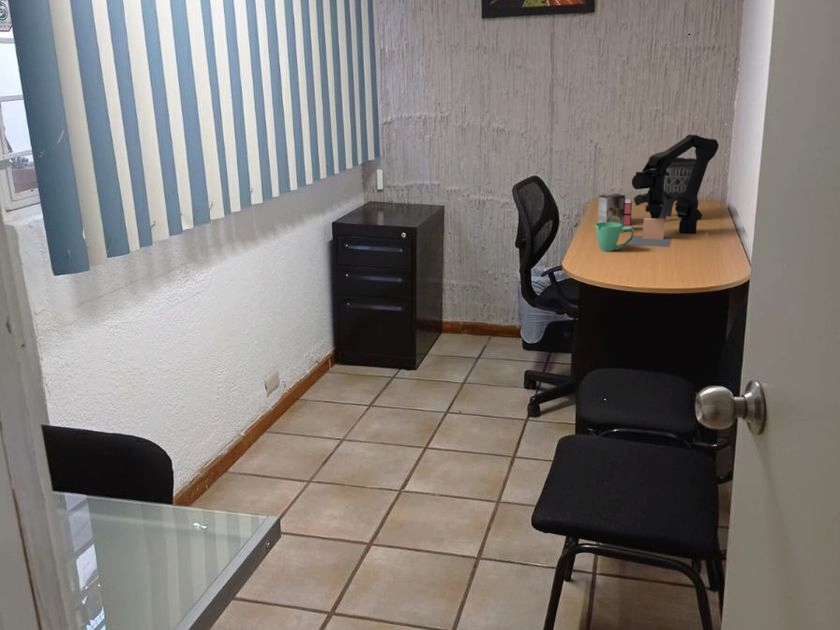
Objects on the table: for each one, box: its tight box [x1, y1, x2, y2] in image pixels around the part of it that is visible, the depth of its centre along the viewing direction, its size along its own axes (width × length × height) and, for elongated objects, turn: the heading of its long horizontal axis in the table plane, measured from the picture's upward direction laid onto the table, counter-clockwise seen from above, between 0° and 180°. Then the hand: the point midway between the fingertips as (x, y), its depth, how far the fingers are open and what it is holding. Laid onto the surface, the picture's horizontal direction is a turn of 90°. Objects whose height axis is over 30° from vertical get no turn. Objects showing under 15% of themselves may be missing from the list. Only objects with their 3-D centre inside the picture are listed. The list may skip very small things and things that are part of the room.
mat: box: [626, 235, 673, 248], centre depth 324 cm, size 16×18×1 cm
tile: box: [642, 217, 666, 240], centre depth 327 cm, size 8×2×8 cm, turn 71°
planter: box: [659, 157, 696, 222], centre depth 363 cm, size 20×20×26 cm
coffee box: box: [597, 193, 626, 233], centre depth 341 cm, size 9×6×16 cm
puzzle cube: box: [624, 198, 633, 226], centre depth 361 cm, size 10×10×10 cm
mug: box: [594, 222, 635, 253], centre depth 311 cm, size 15×10×10 cm
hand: (654, 225), depth 330 cm, fingers closed
